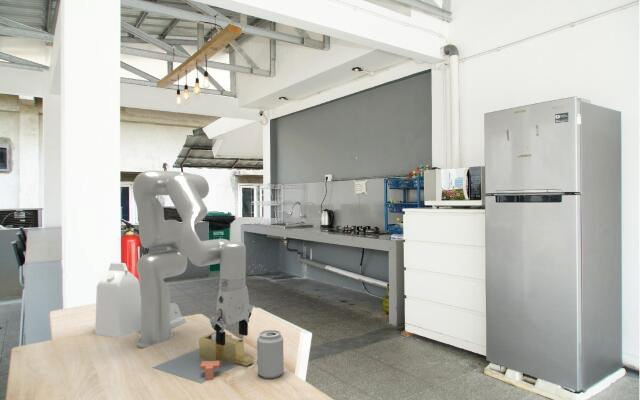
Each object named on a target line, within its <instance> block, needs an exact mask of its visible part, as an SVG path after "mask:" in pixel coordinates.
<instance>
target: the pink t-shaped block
mask: <svg viewBox="0 0 640 400" xmlns="http://www.w3.org/2000/svg"><path fill="white" fill-rule="evenodd" d="M219 367H220V361H205V362H202V363H201V366H200V370H205V380H207V381H209V380H211V381H212V380H213V379H214V378H215V377H214V375H213V369H219Z"/></svg>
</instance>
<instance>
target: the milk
mask: <svg viewBox="0 0 640 400" xmlns="http://www.w3.org/2000/svg"><path fill="white" fill-rule="evenodd" d="M95 303H96V306H95V326H94V327H95V330H94V332H95V333H94V334H95V335H96V334H99V335H98V336H103V335H105V337H111V338H116V339H117V338H119V339H121V338H124V337H126V336H128V335H131V334H133V333H135V332H136V333H137V331H138V330H140V329H141V291H140V281H139V278H137V277H136V276H135V275H134V274H133V273H132V272H131V271H129V269H128V266H127V264H126V263H125V262H110V264H109V268H108V270H107V271H106V273H105V274H104V275H103V276H102V278H101V279H100V280H99V281H98V283H97V285H96V302H95Z"/></svg>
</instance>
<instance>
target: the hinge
mask: <svg viewBox="0 0 640 400" xmlns="http://www.w3.org/2000/svg"><path fill="white" fill-rule="evenodd" d="M186 323H187V320H186V317H184V316H183V315H182V313H181V310H180V308H179V305H178V304H177V303H173V302H170V325H171V330H172V329H174V328H176V327H178V326H181V325H183V324H186Z"/></svg>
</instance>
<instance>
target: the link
mask: <svg viewBox="0 0 640 400" xmlns="http://www.w3.org/2000/svg"><path fill="white" fill-rule="evenodd" d="M212 333H213V332H212ZM212 333H209V334H207V335H204V336H201V337H199V338H198V349H199V358H203V359H207V360H210V361H219V360H221V361H225V362H229V363H232V364H239V365H242V366H249V365H250V364H253V363H254V362H255V361H254V357H249V356H245V341H244V340H242V339H239V338H234V337H233V335H231V334H227V333H225V345H224V346H222V345H219V344H216V341H215V340H211V334H212Z"/></svg>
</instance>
